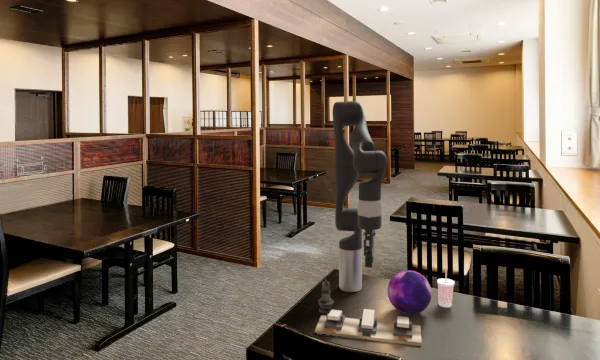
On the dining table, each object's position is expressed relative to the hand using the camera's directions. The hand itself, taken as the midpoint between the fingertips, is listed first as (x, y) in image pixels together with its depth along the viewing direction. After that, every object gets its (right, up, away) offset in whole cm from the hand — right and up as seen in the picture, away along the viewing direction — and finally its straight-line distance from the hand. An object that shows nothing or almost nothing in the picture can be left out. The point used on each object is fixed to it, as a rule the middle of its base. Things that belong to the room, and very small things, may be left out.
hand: (369, 264), depth 132 cm
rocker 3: (+10, -18, -3) cm, 21 cm away
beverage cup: (+31, -19, +18) cm, 40 cm away
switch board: (-1, -21, 0) cm, 21 cm away
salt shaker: (-13, -20, +15) cm, 28 cm away
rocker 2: (0, -18, 0) cm, 18 cm away
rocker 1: (-11, -18, +3) cm, 21 cm away
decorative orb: (+16, -20, +12) cm, 28 cm away
